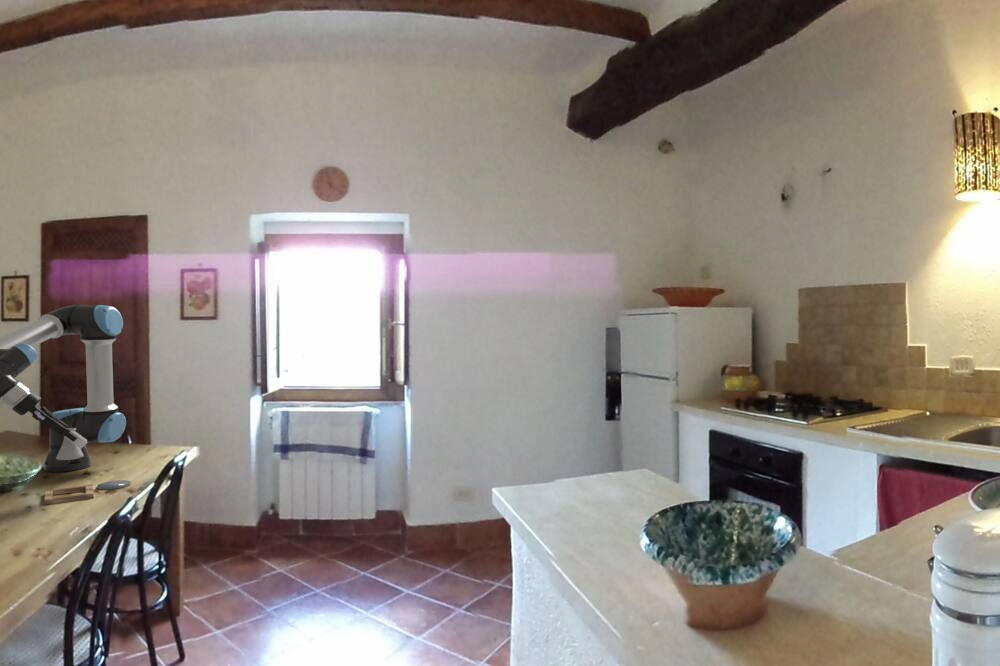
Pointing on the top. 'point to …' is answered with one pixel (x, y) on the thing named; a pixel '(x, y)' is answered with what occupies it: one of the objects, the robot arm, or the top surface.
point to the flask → (69, 450)
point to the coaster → (113, 485)
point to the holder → (51, 500)
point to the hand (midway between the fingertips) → (83, 444)
